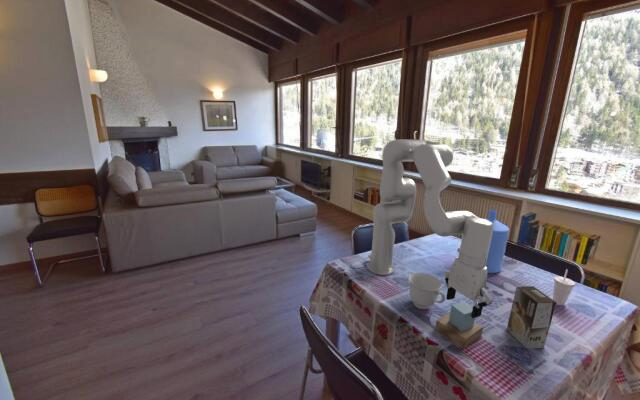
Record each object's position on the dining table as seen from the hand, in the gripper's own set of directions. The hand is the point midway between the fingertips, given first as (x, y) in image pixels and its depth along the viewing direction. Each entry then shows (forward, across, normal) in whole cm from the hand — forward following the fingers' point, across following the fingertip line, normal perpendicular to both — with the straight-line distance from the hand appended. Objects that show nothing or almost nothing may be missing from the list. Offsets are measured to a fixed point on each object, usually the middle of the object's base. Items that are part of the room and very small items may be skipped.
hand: (462, 307), depth 93 cm
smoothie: (+10, +2, +52) cm, 52 cm away
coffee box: (+10, +10, +18) cm, 23 cm away
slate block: (+6, +1, 0) cm, 6 cm away
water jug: (+10, -30, +50) cm, 59 cm away
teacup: (+10, -14, -1) cm, 17 cm away
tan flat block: (+10, 0, 0) cm, 10 cm away
